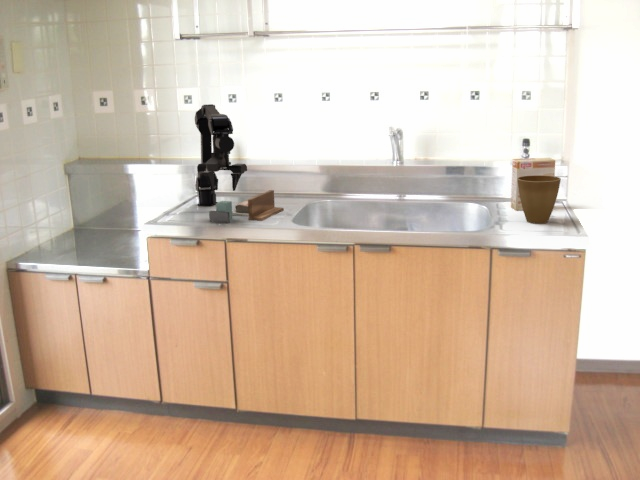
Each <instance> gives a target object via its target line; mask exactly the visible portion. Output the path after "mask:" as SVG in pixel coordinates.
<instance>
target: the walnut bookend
mask: <svg viewBox="0 0 640 480" xmlns="http://www.w3.org/2000/svg"><path fill="white" fill-rule="evenodd" d="M247 200H248V213H249V217H248V220H249V221H259V222H263V221H264V220H267V219H269V218H270V217H273V216H274V215H277V214H278V213H280V212H282V211H284V207H279V206H277V207H276V206H275V190H274V189H271V190H268V191H264V192H262V193H260V194H258V195H255V196H253V197H250V198H248V199H247Z"/></svg>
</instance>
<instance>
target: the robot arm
mask: <svg viewBox="0 0 640 480" xmlns="http://www.w3.org/2000/svg"><path fill="white" fill-rule="evenodd" d="M194 124H195V126H196V127H195V128H196V129H197V130H198V132H199V134H200V163H198V164H197V166H196V170H197V177H196V179H195V185H194V187H195V191H196V192H198V203H197V206H201V207H202V206H205V207H212V206H214V205H216V203H218V202H217V193H215V192H216V191H218V190H219V187H218V186H219V179H218V176H217V174H216V172H219V171H231V173H230V176H231V181H232V183H231V185H232V191H233V192H235V191H236V189H237V185H238V184H239V181H240V179H241V176H242V175H243V174H244V173H245V172H248V167H247V164H246V163H235V164H232V162H231V161H230V154H231V152H232V150H233V149H234V147H235V142H234V141H235V140H233V138H232V137H231V136H229V135H233V133H234V132H233V131H234V128H233V123H232V120H231V119H230V117H228V115H227V114H224V113H220V112H219V111H218V109H217V108H216V105H215V104H211V103H210V104H203V105H201V108H199V109H198V110H196V111H195V115H194Z"/></svg>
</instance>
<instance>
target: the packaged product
mask: <svg viewBox="0 0 640 480" xmlns="http://www.w3.org/2000/svg"><path fill="white" fill-rule="evenodd" d="M232 217H248V218H249V213H248V199H246V200H244V201H241V202H240V203H238V204H237V203H236V205H235V210H232Z"/></svg>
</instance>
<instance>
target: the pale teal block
mask: <svg viewBox="0 0 640 480" xmlns="http://www.w3.org/2000/svg"><path fill="white" fill-rule="evenodd" d="M232 204H233V202H232V201H230V200H221V201H219V202H217V203H216V204H215V207H216V211H218V212H229V217H230V221H231V220H233V216H232V211H233V205H232Z"/></svg>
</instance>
